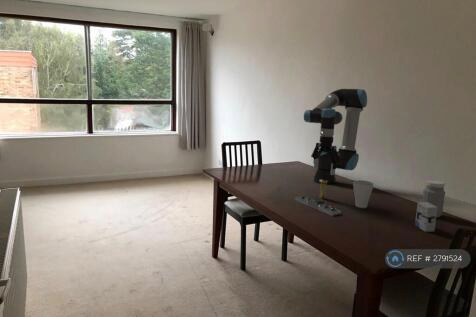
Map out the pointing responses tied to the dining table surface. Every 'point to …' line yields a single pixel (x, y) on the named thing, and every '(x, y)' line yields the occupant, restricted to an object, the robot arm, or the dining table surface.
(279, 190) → the dining table surface
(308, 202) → the grey long bar piece
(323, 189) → the pin
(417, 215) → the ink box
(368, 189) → the cup
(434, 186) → the jar
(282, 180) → the dining table surface
